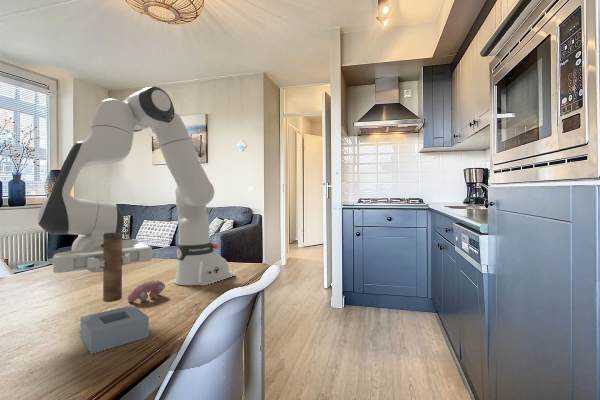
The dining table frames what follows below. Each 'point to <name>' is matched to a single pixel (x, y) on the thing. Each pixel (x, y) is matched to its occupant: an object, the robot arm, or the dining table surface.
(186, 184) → the robot arm
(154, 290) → the video game controller
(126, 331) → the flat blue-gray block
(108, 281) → the walnut dowel
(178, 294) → the dining table surface
